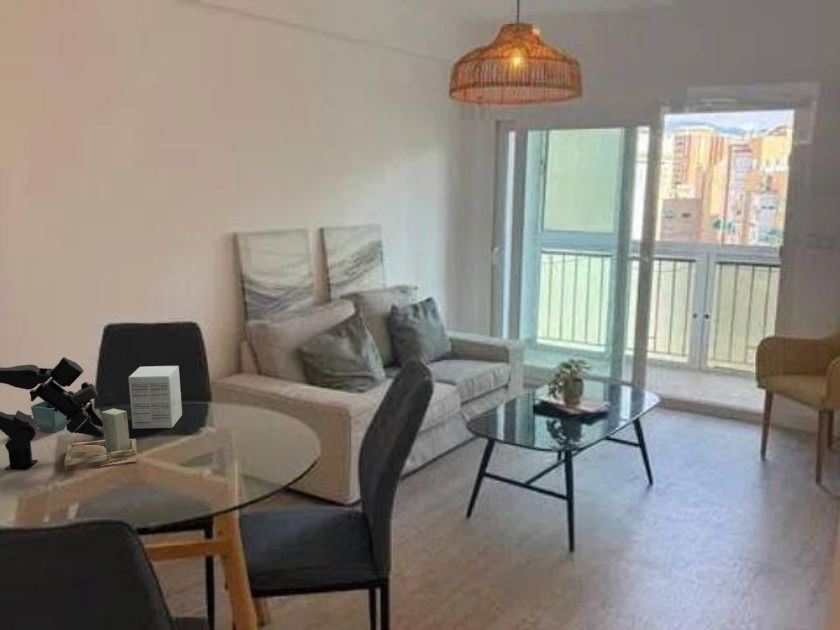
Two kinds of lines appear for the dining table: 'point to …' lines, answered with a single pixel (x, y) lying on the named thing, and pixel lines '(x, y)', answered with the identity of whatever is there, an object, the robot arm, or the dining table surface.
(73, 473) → the dining table surface
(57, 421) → the flower pot
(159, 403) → the supplement box
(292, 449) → the dining table surface
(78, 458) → the keyhole guide
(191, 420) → the dining table surface
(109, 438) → the skincare box
